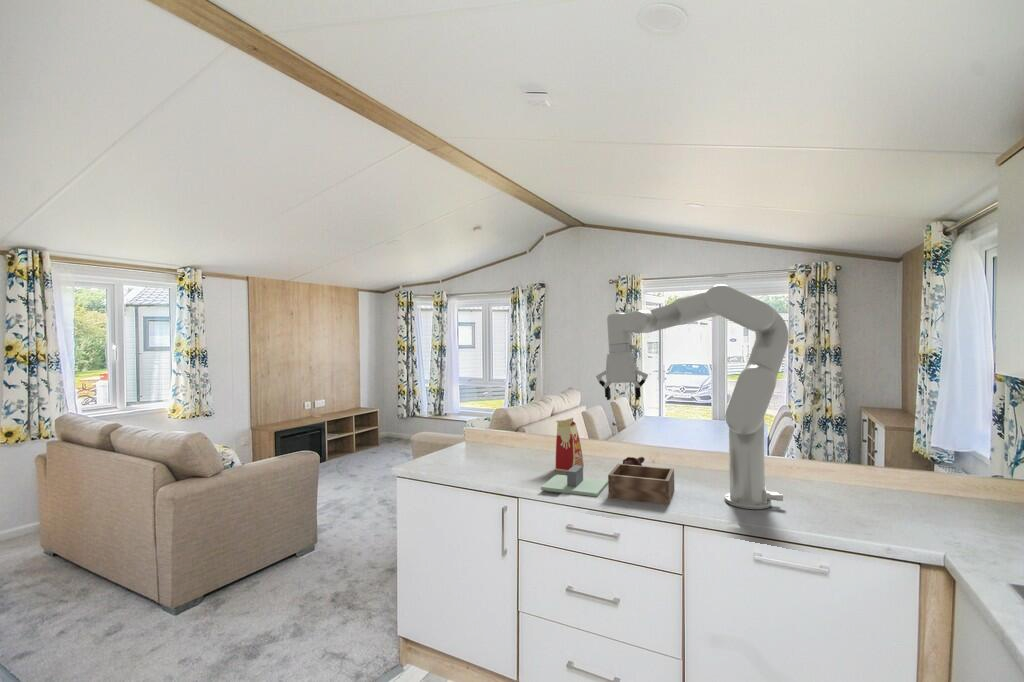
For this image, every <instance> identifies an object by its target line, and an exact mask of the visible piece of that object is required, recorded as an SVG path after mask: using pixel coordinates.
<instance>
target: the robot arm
mask: <svg viewBox="0 0 1024 682" xmlns="http://www.w3.org/2000/svg"><path fill="white" fill-rule="evenodd" d="M717 316H721V317H722V318H725V319H727V320H728V321H731V322H733V323H735V324H737V325H739V326H741V327H743V328H746V329H747V330H749V331H751V332H754V333H755V340H754V344H753V346H752V348H751V352H750V355H749V358H748V361H747V363H746V365H745V367H744V368H743V370H741V372H740V373H739V376H738V378H737V380H736V383H735V386H734V388H733V391H732V394H731V397H730V400H729V402H728V405H727V408H726V410H725V416H724V419H725V422H726V423H725V424H727V427H728V460H729V461H728V463H729V465H728V466H729V468H728V469H729V492H728V493H726V494H725V495H724V502H726V503H727V504H729V505H731V506H734V507H737V508H739V509H740V508H742V509H747V510H763V509H768V508H770V507H771V506H772V501H777V502H784V495H783V494H782V493H781V494H779V493H778V492H777V491H769V490H767V486H766V477H765V476H766V475H765V474H766V473H765V416H766V413H767V410H768V407H769V406H770V405H769V404H770V403H771V400H772V397H773V395H774V392H775V388H776V386H777V385H776V384H777V377H778V375H779V372H780V370H781V367H782V364H783V361H784V357H785V355H786V352H787V348H788V345H789V330H788V327H787V326H788V325H787V324H786V321H785V319H784V318H783V317H782V316H781V315H780V313H778V312H777V311H776V309H775V308H774V307H772V306H771V305H770V304H768V303H767V302H764V301H762V300H760V299H757V298H755V297H753V296H751V295H748V294H746V293H743V292H741V291H740V290H737V289H735V288H733V287H732V286H729V285H727V284H723V283H722V284H721V283H720V284H715V285H713V286H711V287H710V288H708V289H706V290H703V291H700V292H696V293H692V294H689V295H685V296H681V297H679V298H677V299H675V300H674V301H673V302H671V303H669V304H667V305H663V306H660V307H657V308H653V309H650V310H639V309H637V310H631V311H629V312H613V313H610V314H608V315H607V317H606V321H607V322H606V324H607V325H606V326H607V342H608V353H607V354H606V359H605V360H606V362H605V370H604V371H602V372H600V373H599V374H597V375H596V376H595V378H596V379H597V381H598V383H599V384H600V386H602V387H603V388H604V397H605V398H606V401H610V400H611V398H612V397H611V393H612V392H611V388H610V385H611V384H621V383H623V384H624V383H625V384H626V383H632V384H633V385H634V386H635V388H634V394H635V400H636V401H638V400H640V398H641V397H642V395H641V387H642V386H643V385H644V384H645V382H646V381H647V379H648V377H649V373H646V372H644V371H642V370H639V369H638V367H637V365H638V364H637V360H636V359H637V358H636V355H635V352H632V351H633V350H636V349H637V345H636V344H635V345H634V344H632V338H631V337H632V336H631V333H632V334H648V333H653V332H657V331H661V330H665V329H669V328H672V327H676V326H683V325H686V324H690V323H694V322H697V321H702V320H705V319H710V318H714V317H717ZM638 375H639V376H641V377H642V378H641V380H640V381H638V379H639V377H638ZM602 377H605V379H606V382H605V381H604V380H603V378H602Z"/></svg>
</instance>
